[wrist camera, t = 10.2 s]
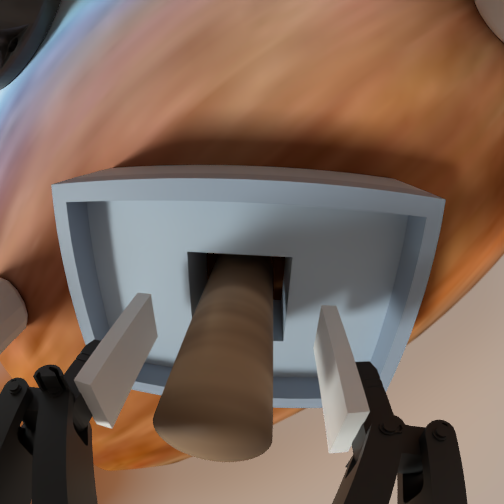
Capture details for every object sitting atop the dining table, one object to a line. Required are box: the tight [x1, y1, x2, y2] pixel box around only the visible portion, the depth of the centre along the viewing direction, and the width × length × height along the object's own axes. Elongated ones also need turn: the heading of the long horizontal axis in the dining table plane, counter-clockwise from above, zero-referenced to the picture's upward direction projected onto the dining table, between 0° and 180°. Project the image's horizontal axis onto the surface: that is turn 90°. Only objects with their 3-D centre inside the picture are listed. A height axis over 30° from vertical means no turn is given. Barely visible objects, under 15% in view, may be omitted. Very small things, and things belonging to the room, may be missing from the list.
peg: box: [153, 253, 273, 462], centre depth 15 cm, size 4×4×14 cm
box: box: [52, 165, 446, 408], centre depth 18 cm, size 14×20×7 cm
